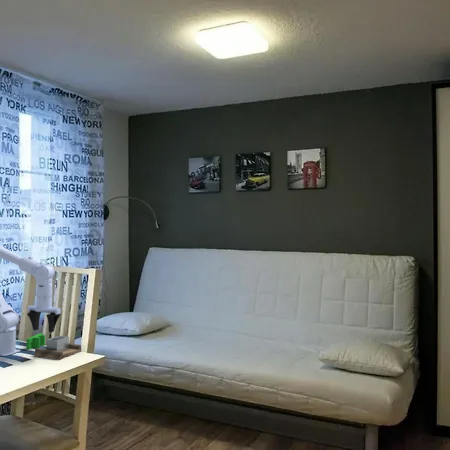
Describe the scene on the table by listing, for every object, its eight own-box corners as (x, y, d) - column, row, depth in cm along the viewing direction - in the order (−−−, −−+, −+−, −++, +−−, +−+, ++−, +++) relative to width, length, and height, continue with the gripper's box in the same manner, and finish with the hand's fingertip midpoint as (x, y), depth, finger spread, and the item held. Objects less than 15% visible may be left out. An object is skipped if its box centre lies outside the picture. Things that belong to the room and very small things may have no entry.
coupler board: (34, 355, 187) (34, 349, 187) (57, 348, 199) (57, 341, 199) (59, 359, 183) (59, 352, 183) (81, 351, 195) (81, 344, 195)
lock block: (46, 352, 188) (46, 338, 188) (58, 348, 195) (58, 335, 195) (56, 353, 186) (57, 340, 186) (68, 349, 193) (69, 336, 193)
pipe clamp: (35, 350, 195) (35, 339, 195) (26, 350, 196) (26, 339, 195) (48, 343, 206) (48, 333, 206) (40, 343, 207) (40, 332, 207)
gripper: (21, 296, 187) (21, 331, 187) (52, 299, 182) (51, 335, 182) (35, 293, 194) (34, 327, 194) (64, 296, 189) (63, 331, 189)
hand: (43, 330), depth 188 cm, fingers open, 7 cm apart
